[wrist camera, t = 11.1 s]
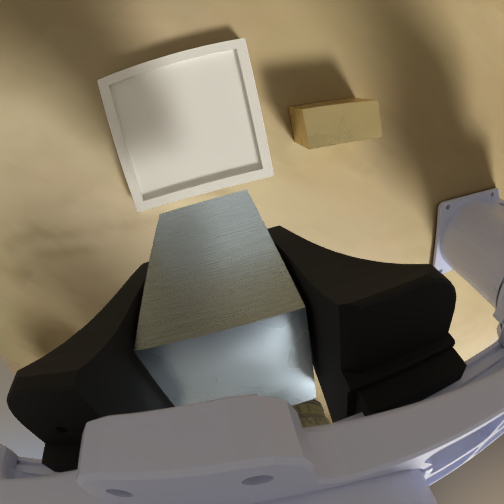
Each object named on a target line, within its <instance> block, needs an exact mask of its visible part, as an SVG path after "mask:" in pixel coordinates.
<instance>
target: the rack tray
mask: <svg viewBox="0 0 504 504" xmlns="http://www.w3.org/2000/svg"><path fill="white" fill-rule="evenodd" d="M97 82H98V86H99V90H100V94H101V98H102V101H103V105H104V109H105V112H106V116H107V120H108V123H109V127H110V130H111V133H112V137H113V140H114V143H115V147H116V150H117V153H118V156H119V159H120V163H121V166H122V169H123V172H124V175H125V178H126V181H127V184H128V187H129V190H130V192H131V195H132V198H133V201H134V204H135V207H136V209H137V212H142V211H145V210H148V209H151V208H155V207H158V206H161V205H165V204H168V203H172V202H175V201H179V200H182V199H186V198H189V197H193V196H196V195H200V194H204V193H207V192H211V191H215V190H219V189H222V188H226V187H230V186H234V185H238V184H242V183H246V182H250V181H254V180H258V179H262V178H267V177H271V176H274V173H273V167H272V162H271V157H270V152H269V147H268V142H267V137H266V132H265V127H264V122H263V118H262V113H261V108H260V103H259V99H258V94H257V90H256V85H255V80H254V76H253V71H252V67H251V63H250V58H249V54H248V49H247V45H246V41H245V38H241V39H235V40H230V41H225V42H220V43H215V44H210V45H206V46H201V47H197V48H193V49H189V50H185V51H181V52H178V53H174V54H170V55H167V56H164V57H160V58H157V59H154V60H151V61H147V62H144V63H141V64H138V65H135V66H133V67H130V68H127V69H124V70H121V71H119V72H116V73H114V74H111V75H108V76H106V77H103V78H101V79H99V80H97Z"/></svg>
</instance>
